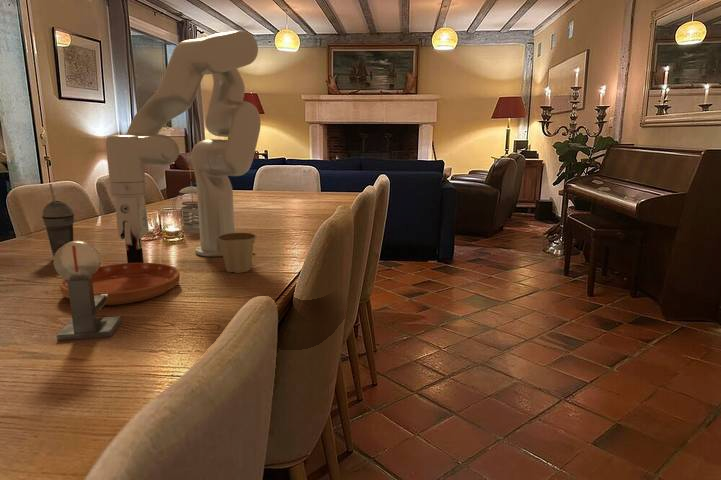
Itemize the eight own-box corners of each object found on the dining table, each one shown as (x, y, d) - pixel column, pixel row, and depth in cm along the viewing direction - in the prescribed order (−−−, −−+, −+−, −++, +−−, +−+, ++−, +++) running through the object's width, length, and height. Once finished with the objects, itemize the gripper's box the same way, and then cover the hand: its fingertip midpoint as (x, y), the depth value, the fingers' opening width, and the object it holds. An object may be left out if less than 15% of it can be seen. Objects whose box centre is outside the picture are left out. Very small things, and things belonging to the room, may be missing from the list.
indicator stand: (123, 318, 87) (114, 232, 84) (110, 336, 79) (100, 242, 76) (75, 321, 85) (63, 233, 82) (57, 340, 78) (44, 244, 74)
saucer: (145, 270, 118) (144, 256, 117) (201, 288, 105) (200, 272, 104) (42, 294, 100) (40, 278, 99) (95, 320, 87) (92, 301, 86)
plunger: (108, 300, 90) (108, 294, 90) (99, 311, 85) (98, 304, 84) (101, 300, 90) (101, 294, 90) (91, 311, 84) (91, 305, 84)
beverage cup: (64, 262, 123) (54, 185, 119) (41, 261, 125) (30, 185, 120) (85, 255, 130) (77, 183, 126) (63, 254, 132) (53, 182, 127)
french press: (203, 233, 161) (198, 158, 156) (169, 232, 162) (163, 158, 156) (212, 227, 171) (208, 157, 166) (180, 227, 171) (175, 157, 166)
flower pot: (238, 277, 112) (236, 242, 110) (210, 271, 117) (208, 237, 115) (265, 268, 120) (264, 235, 118) (239, 263, 125) (237, 230, 123)
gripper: (138, 192, 104) (146, 272, 108) (152, 185, 118) (158, 256, 122) (101, 193, 103) (110, 274, 107) (119, 186, 117) (126, 258, 121)
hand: (135, 264), depth 115 cm, fingers closed
